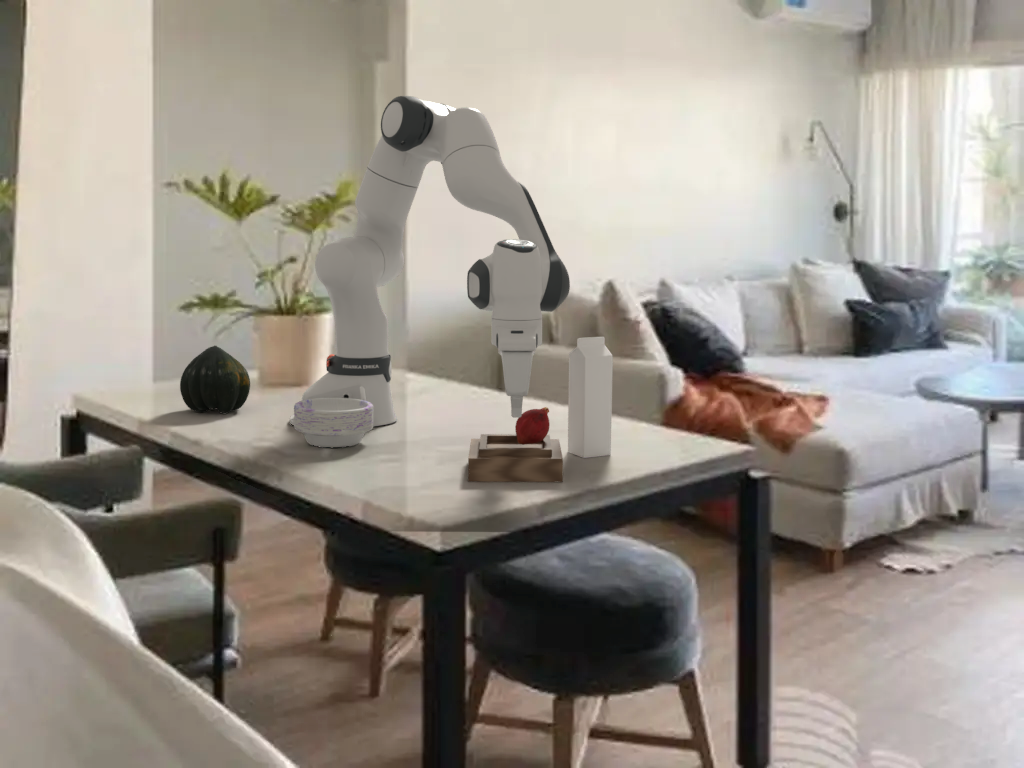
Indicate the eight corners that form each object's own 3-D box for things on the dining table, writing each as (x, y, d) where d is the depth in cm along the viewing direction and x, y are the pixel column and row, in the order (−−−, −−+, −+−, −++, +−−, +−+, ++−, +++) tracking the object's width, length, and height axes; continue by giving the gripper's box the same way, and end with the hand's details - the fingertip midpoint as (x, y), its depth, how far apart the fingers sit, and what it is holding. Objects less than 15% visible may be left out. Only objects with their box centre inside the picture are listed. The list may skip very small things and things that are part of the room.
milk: (567, 452, 225) (568, 336, 221) (594, 449, 227) (596, 334, 224) (584, 458, 219) (585, 339, 216) (611, 455, 222) (613, 338, 219)
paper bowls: (387, 446, 229) (386, 405, 227) (313, 455, 221) (312, 413, 219) (353, 432, 241) (352, 393, 240) (282, 440, 233) (281, 400, 232)
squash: (209, 396, 250) (238, 338, 258) (157, 392, 257) (186, 336, 265) (246, 431, 261) (272, 374, 268) (194, 427, 268) (221, 372, 275)
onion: (530, 452, 206) (558, 416, 206) (504, 432, 207) (532, 396, 207) (534, 454, 211) (561, 418, 211) (508, 434, 212) (536, 399, 212)
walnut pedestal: (468, 481, 202) (468, 451, 201) (471, 460, 217) (471, 432, 216) (562, 481, 202) (563, 452, 201) (558, 460, 217) (558, 432, 217)
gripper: (498, 327, 216) (498, 402, 218) (498, 342, 196) (497, 424, 198) (533, 327, 216) (532, 402, 218) (536, 342, 196) (535, 424, 198)
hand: (516, 413), depth 208 cm, fingers open, 5 cm apart
